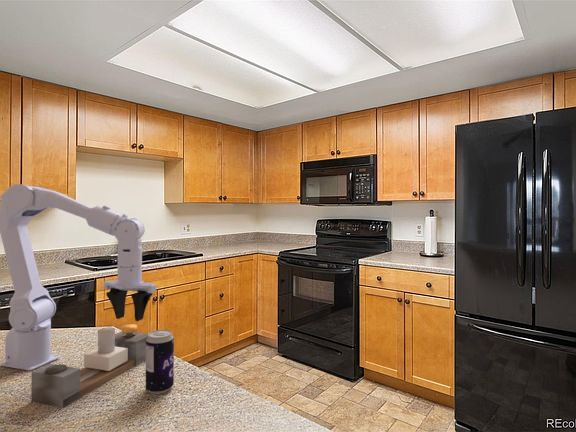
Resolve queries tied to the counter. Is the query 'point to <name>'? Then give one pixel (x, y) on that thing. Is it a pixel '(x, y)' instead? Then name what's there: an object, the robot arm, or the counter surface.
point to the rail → (82, 375)
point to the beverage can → (159, 361)
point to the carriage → (106, 352)
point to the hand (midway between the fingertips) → (129, 318)
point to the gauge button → (129, 330)
